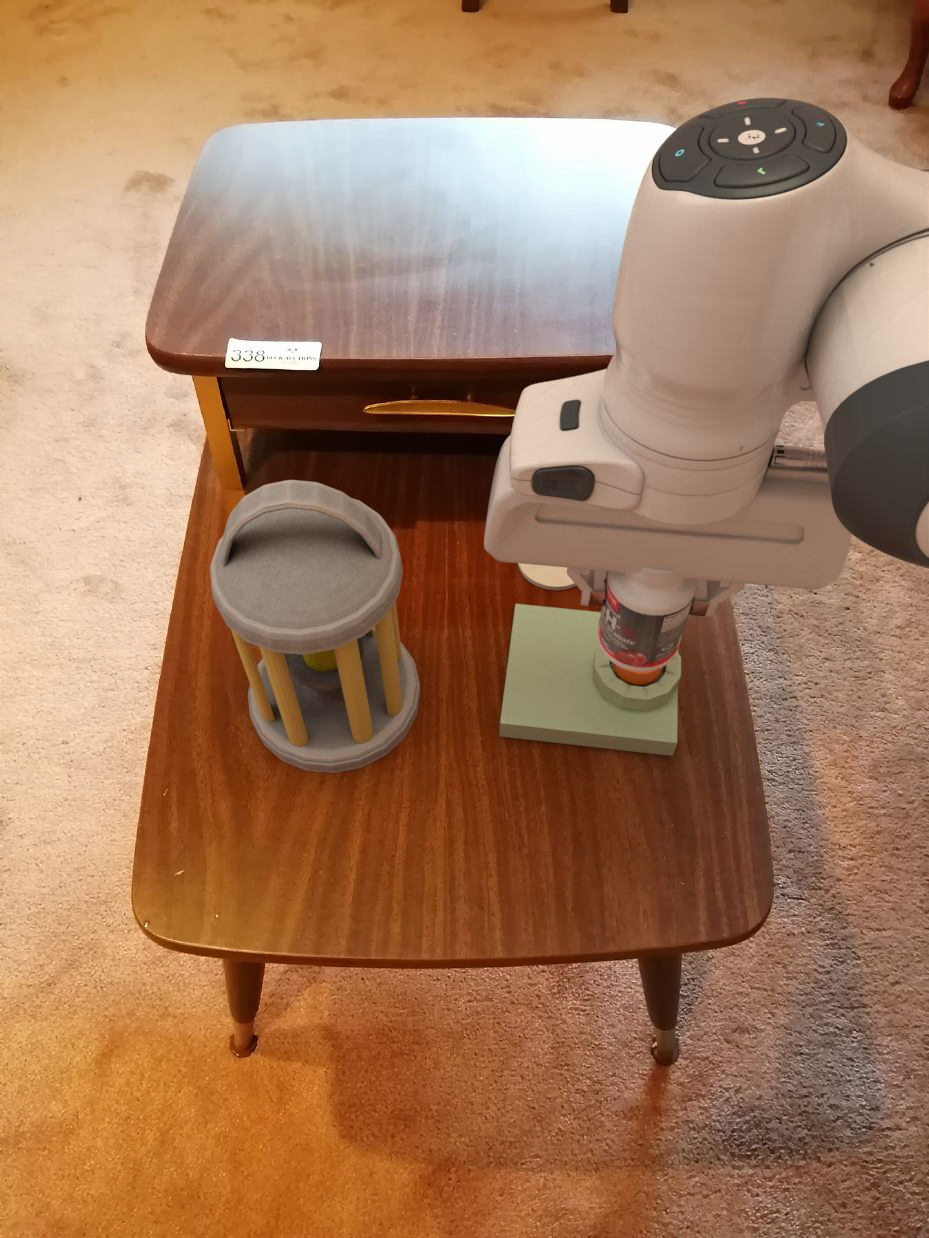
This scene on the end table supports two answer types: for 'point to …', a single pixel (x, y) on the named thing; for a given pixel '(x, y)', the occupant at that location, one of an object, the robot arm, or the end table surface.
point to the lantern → (317, 624)
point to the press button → (637, 675)
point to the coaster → (547, 576)
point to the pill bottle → (644, 617)
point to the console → (581, 688)
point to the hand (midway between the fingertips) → (645, 602)
